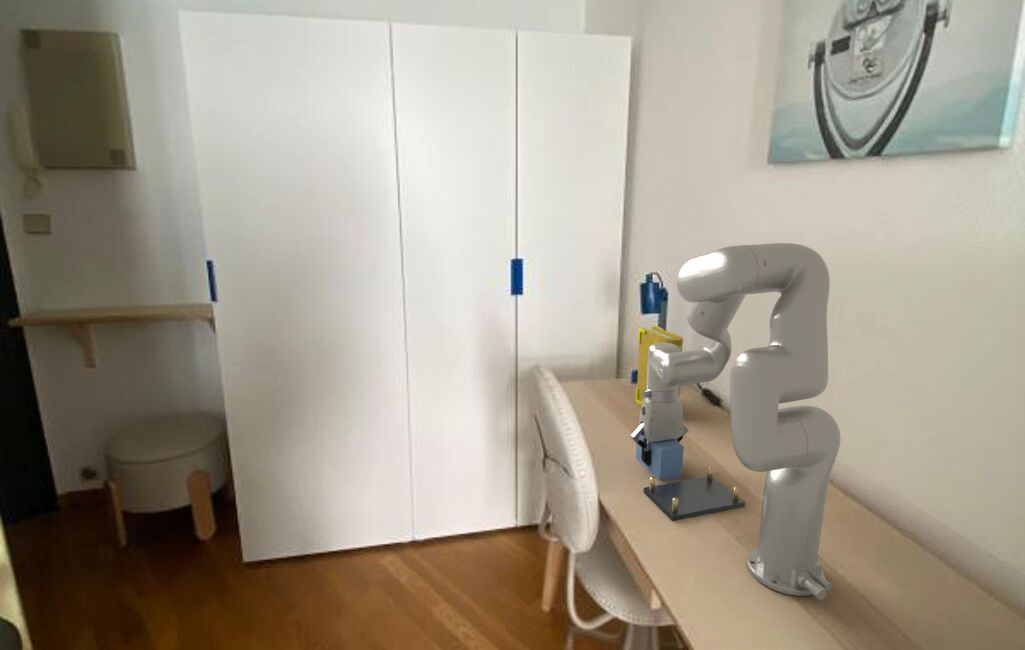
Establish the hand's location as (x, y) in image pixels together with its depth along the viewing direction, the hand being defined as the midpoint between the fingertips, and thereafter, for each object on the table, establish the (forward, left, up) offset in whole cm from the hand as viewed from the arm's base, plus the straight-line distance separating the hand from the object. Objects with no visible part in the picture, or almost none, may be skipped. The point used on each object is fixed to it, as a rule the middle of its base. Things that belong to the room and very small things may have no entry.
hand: (658, 460), depth 137 cm
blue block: (0, 0, -2) cm, 2 cm away
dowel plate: (-16, 0, -2) cm, 16 cm away
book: (+33, -20, -2) cm, 39 cm away
